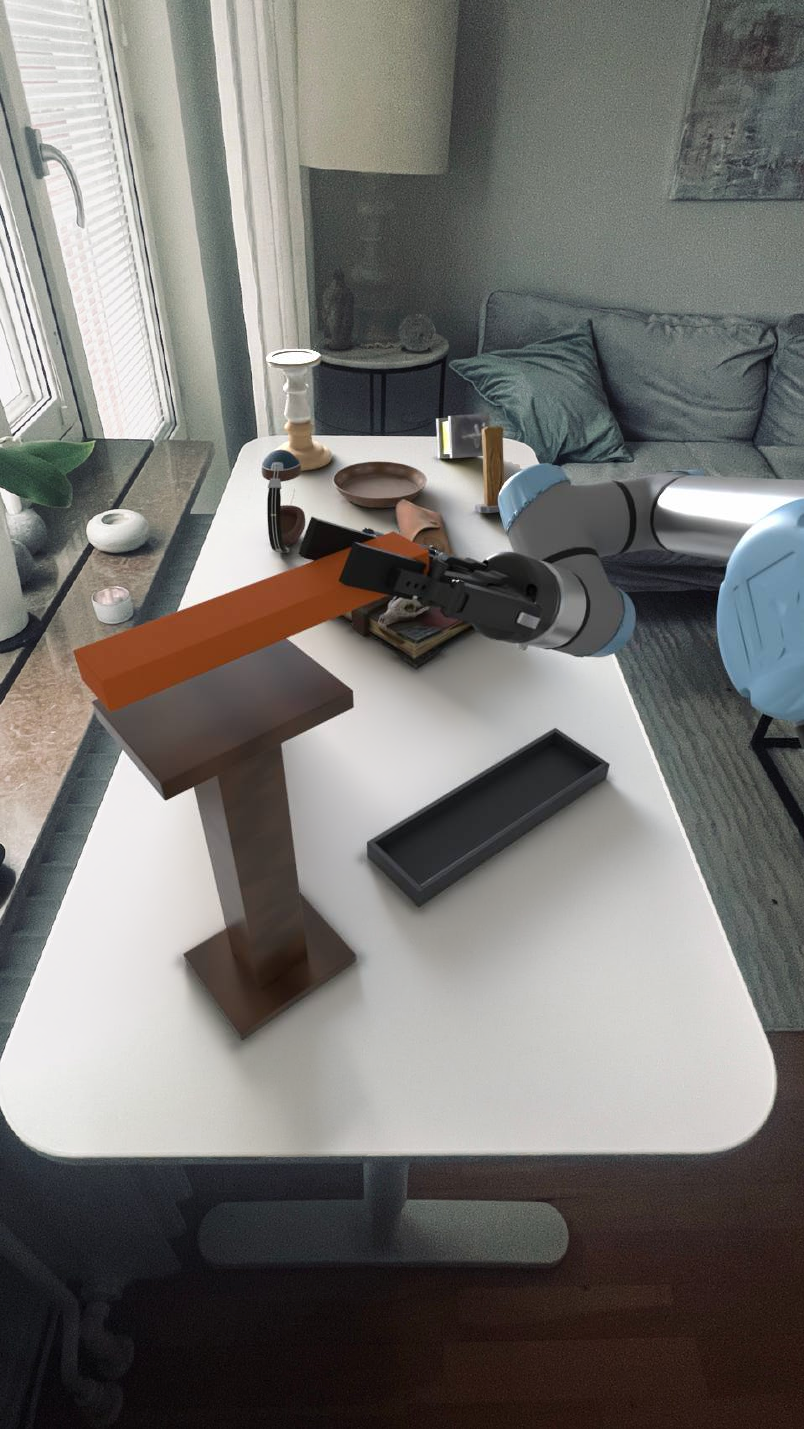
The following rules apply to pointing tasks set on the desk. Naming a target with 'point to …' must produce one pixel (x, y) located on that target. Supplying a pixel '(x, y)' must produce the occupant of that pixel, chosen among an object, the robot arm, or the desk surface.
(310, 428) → the candle holder
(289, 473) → the headphones
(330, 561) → the orange long flat bar
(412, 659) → the book
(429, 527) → the sunglasses case
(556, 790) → the tray
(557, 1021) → the desk surface
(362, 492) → the plant saucer
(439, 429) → the desk lamp
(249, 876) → the stand
